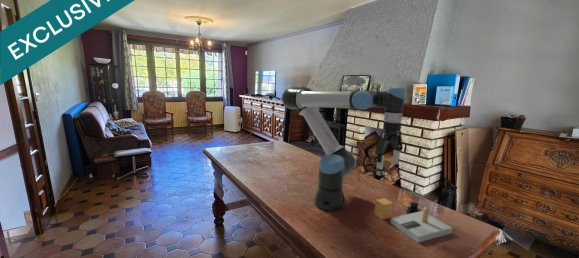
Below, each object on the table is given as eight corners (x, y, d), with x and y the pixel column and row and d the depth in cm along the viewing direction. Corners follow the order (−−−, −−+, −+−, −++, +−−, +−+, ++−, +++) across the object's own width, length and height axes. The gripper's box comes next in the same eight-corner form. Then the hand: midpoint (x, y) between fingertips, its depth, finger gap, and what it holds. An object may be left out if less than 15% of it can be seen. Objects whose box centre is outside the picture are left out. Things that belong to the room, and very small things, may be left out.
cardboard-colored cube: (382, 219, 108) (383, 204, 107) (374, 213, 113) (375, 199, 112) (391, 217, 110) (392, 203, 109) (383, 212, 115) (384, 198, 114)
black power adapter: (421, 221, 109) (422, 212, 108) (403, 217, 112) (404, 207, 111) (422, 209, 119) (423, 200, 118) (405, 205, 123) (406, 196, 122)
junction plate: (417, 243, 93) (419, 222, 91) (390, 223, 106) (391, 204, 104) (451, 233, 99) (454, 213, 98) (422, 215, 112) (424, 198, 111)
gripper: (385, 125, 103) (379, 173, 107) (413, 120, 118) (408, 163, 122) (369, 122, 108) (364, 168, 112) (398, 118, 124) (394, 159, 128)
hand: (387, 166), depth 117 cm, fingers open, 13 cm apart
